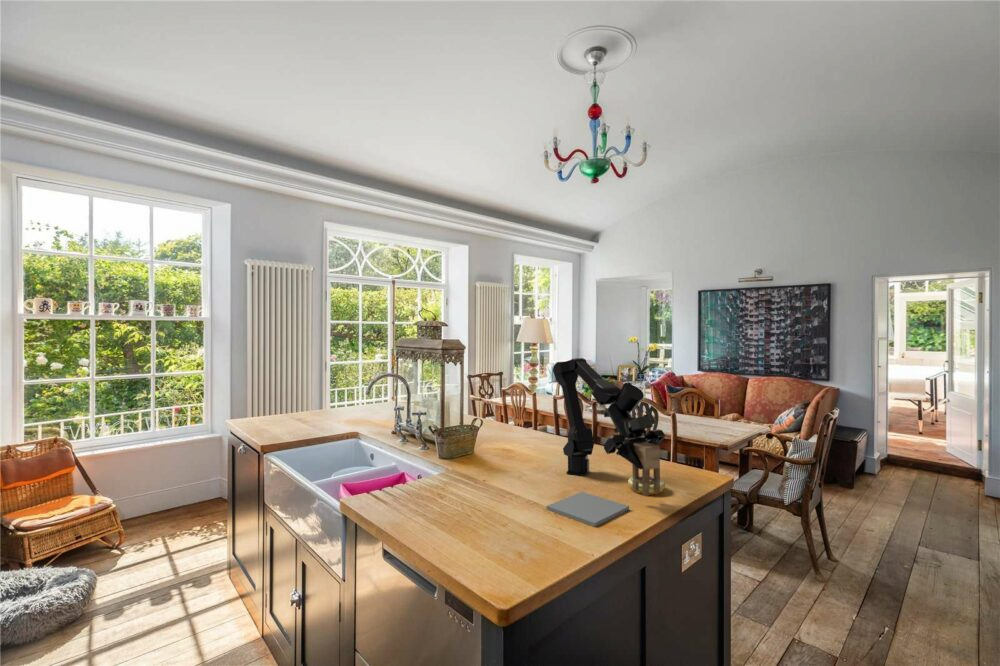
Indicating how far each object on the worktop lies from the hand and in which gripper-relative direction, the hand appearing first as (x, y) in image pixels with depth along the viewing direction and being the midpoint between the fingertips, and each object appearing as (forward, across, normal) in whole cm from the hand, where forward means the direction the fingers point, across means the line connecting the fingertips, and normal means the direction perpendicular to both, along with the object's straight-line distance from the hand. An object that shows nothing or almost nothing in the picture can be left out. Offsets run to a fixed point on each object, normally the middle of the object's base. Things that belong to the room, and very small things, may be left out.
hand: (649, 467), depth 129 cm
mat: (+4, -17, +12) cm, 21 cm away
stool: (+4, 0, +6) cm, 7 cm away
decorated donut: (0, +9, +16) cm, 18 cm away
